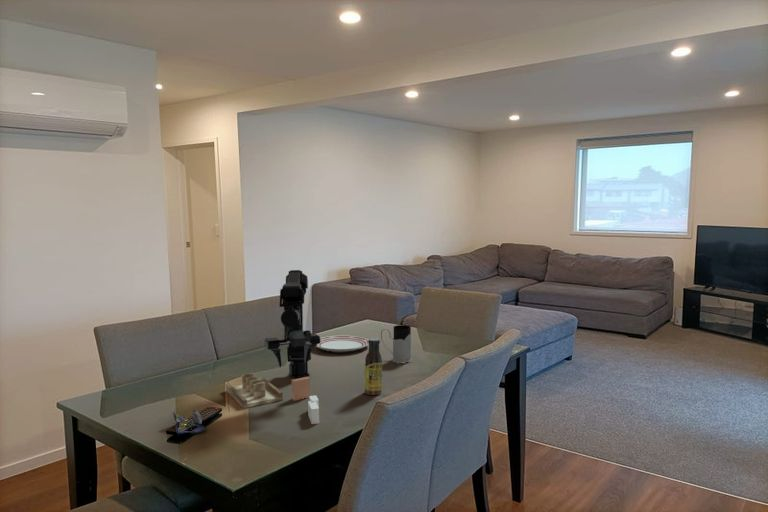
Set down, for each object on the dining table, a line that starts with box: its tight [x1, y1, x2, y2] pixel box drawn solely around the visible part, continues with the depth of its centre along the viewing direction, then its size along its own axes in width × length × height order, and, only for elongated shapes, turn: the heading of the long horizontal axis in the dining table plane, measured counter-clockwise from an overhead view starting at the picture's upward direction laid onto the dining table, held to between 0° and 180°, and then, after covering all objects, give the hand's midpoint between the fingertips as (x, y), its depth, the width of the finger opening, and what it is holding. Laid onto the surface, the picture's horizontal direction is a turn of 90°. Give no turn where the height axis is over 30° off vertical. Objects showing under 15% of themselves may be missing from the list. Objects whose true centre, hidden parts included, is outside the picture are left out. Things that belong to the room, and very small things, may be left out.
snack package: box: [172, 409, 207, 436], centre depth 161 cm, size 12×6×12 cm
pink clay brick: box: [291, 376, 311, 402], centre depth 186 cm, size 6×2×7 cm, turn 123°
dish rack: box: [225, 372, 284, 409], centre depth 189 cm, size 14×20×6 cm
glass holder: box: [380, 324, 413, 363], centre depth 231 cm, size 9×14×15 cm, turn 71°
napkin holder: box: [307, 395, 320, 425], centre depth 171 cm, size 15×11×6 cm
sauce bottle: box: [363, 337, 383, 396], centre depth 191 cm, size 7×6×20 cm
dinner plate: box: [315, 334, 369, 353], centre depth 253 cm, size 27×27×3 cm
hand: (293, 365), depth 185 cm, fingers open, 9 cm apart
